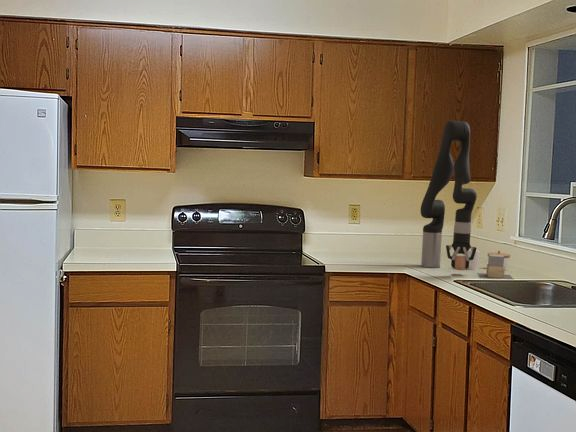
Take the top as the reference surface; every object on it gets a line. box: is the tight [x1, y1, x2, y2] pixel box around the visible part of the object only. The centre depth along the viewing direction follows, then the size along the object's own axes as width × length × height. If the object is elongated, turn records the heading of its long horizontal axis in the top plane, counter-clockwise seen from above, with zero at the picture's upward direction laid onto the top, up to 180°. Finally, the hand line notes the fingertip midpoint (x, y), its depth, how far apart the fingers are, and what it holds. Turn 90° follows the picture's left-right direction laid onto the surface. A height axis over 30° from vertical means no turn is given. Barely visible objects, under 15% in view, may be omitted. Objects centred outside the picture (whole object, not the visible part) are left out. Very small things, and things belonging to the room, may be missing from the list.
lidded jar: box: [487, 250, 511, 270], centre depth 369 cm, size 11×11×9 cm
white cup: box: [462, 248, 481, 271], centre depth 364 cm, size 8×8×10 cm
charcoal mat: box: [476, 272, 515, 280], centre depth 344 cm, size 13×15×1 cm
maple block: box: [486, 263, 506, 278], centre depth 343 cm, size 7×7×5 cm
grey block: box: [487, 254, 504, 267], centre depth 343 cm, size 6×6×4 cm
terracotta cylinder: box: [453, 255, 467, 271], centre depth 344 cm, size 5×5×6 cm
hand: (459, 268), depth 344 cm, fingers closed on terracotta cylinder, 5 cm apart
